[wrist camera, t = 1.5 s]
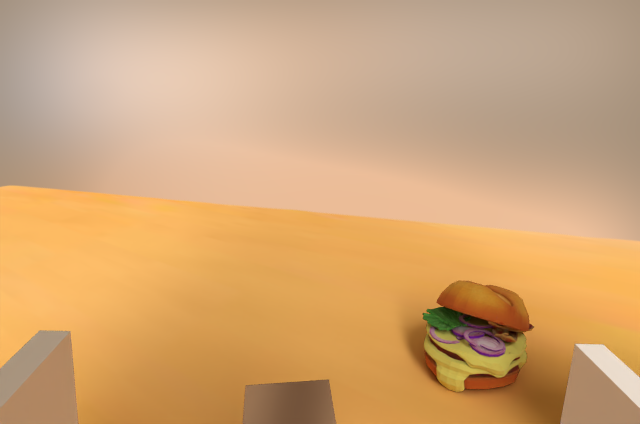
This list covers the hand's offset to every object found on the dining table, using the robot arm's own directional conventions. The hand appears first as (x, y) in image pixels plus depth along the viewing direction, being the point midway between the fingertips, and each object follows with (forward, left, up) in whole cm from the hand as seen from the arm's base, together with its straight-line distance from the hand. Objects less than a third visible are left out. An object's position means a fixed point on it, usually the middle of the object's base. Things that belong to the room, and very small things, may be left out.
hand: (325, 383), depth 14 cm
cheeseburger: (-18, -33, -23) cm, 44 cm away
